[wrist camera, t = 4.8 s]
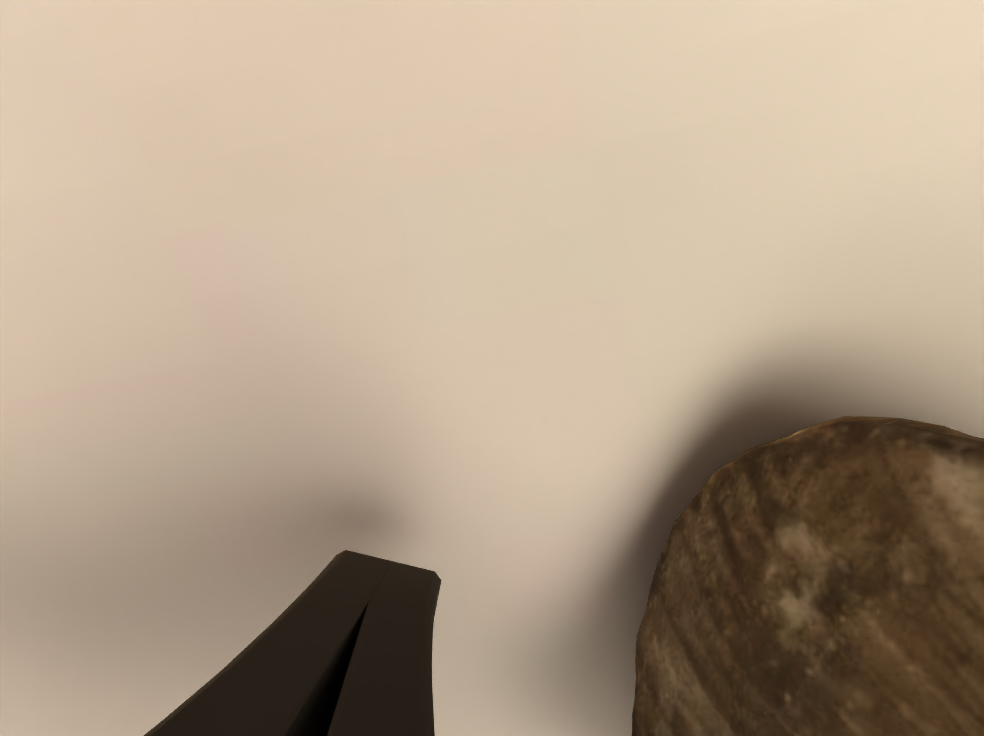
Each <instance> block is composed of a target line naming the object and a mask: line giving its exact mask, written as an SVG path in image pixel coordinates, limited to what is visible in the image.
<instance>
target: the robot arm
mask: <svg viewBox="0 0 984 736" xmlns="http://www.w3.org/2000/svg"><path fill="white" fill-rule="evenodd" d="M440 585H441V579H440V578H439V577H438V575H437V574H436V573H435V571H430V570H426V569H422V568H418V567H414V566H410V565H405V564H401V563H397V562H393V561H389V560H385V559H381V558H376V557H372V556H368V555H364V554H360V553H356V552H351V551H347V550H345V551H343V552H341V553H339V554H337V555H336V556H335V557H334V559H333V560H332V561H331V562H330V563H329V564H328V566H327V567H326V568H325V569H324V570H323V571H322V572H321V573H320V574H319V576H318V577H317V578H316V579H315V580H314V581H313V582H312V583H311V584H310V585H309V586H308V587H307V588H306V590H305V591H304V592H303V593H302V594H301V595H300V596H299V597H298V598H297V599H296V600H295V601H294V602H293V603H292V604H291V605H290V606H289V607H288V608H287V609H286V610H285V611H284V612H283V613H282V614H281V615H280V616H279V617H278V618H277V619H276V620H275V621H274V622H273V623H272V624H271V625H270V626H269V627H268V628H267V629H265V630H264V631H263V632H262V633H261V634H260V635H259V636H258V637H257V638H256V639H255V640H254V641H253V642H252V643H251V644H249V645H248V646H247V647H246V648H245V649H244V650H243V651H242V652H241V653H240V654H239V655H238V656H237V657H236V658H234V659H233V660H232V661H231V662H230V663H229V664H228V665H227V666H226V667H225V668H224V669H222V670H221V671H220V672H219V673H218V674H217V675H216V676H214V677H213V678H212V679H211V680H210V681H209V682H207V683H206V684H205V685H204V686H203V687H201V688H200V689H199V690H198V691H197V692H196V693H194V694H193V695H192V696H191V697H190V698H188V699H187V700H186V701H185V702H184V703H183V704H181V705H180V706H179V707H178V708H177V709H175V710H174V711H173V712H172V713H171V714H170V715H168V716H167V717H166V718H165V719H164V720H163V721H161V722H160V723H159V724H158V725H156V726H155V727H154V728H153V729H151V730H150V731H149V732H148V733H146V734H145V735H144V736H435V734H434V715H433V694H432V638H433V623H434V615H435V610H436V605H437V600H438V595H439V590H440Z"/></svg>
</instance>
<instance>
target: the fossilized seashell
mask: <svg viewBox="0 0 984 736" xmlns="http://www.w3.org/2000/svg"><path fill="white" fill-rule="evenodd" d="M635 664H636V687H635V701H634V707H633V714H632V736H984V439H982V438H977V437H973V436H970V435H967V434H964V433H961V432H959V431H956V430H953V429H950V428H947V427H945V426H939V425H934V424H929V423H923V422H918V421H913V420H907V419H901V418H886V417H852V416H844V417H841V418H837V419H834V420H830V421H827V422H823V423H820V424H817V425H814V426H811V427H809V428H806V429H803V430H800V431H798V432H795V433H794V434H792V435H790V436H787V437H784V438H781V439H778V440H775V441H772V442H769V443H766V444H763V445H760V446H758V447H755V448H752V449H749V450H747V451H745V452H744V453H743V454H742V455H741V456H739V457H738V458H737V459H736V460H734V461H732V462H731V463H729V464H727V465H725V466H723V467H722V468H720V469H719V470H717V471H716V472H715V473H714V474H713V475H712V476H711V478H710V479H709V481H708V482H707V483H706V485H705V486H704V488H703V489H702V490H701V492H700V493H699V494H698V495H697V497H696V498H695V499H694V500H693V501H692V502H691V504H690V505H689V506H688V507H687V509H686V510H685V511H684V512H683V514H682V515H681V516H680V517H679V518H678V520H677V521H676V523H675V525H674V527H673V529H672V531H671V534H670V538H669V541H668V543H667V545H666V547H665V548H664V550H663V552H662V554H661V556H660V559H659V562H658V565H657V568H656V571H655V574H654V577H653V580H652V584H651V587H650V591H649V597H648V603H647V609H646V612H645V615H644V617H643V620H642V623H641V626H640V629H639V632H638V634H637V641H636V660H635Z"/></svg>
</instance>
